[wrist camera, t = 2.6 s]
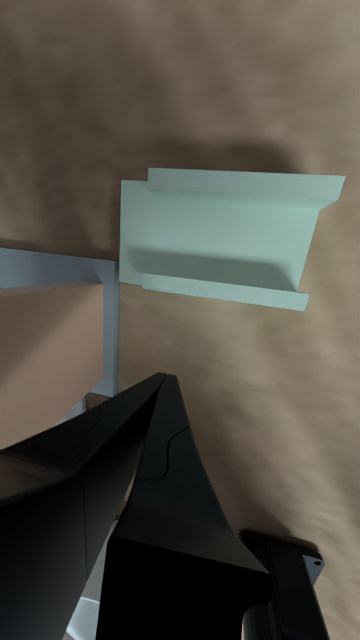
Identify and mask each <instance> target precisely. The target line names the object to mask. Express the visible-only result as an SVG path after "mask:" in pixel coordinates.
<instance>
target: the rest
mask: <svg viewBox="0 0 360 640" xmlns="http://www.w3.org/2000/svg"><path fill="white" fill-rule="evenodd" d="M344 179H345V176H331V175H308V174H285V173H262V172H239V171H215V170H192V169H169V168H148V181H135V180H121V217H120V262H119V282H121V283H129V284H136V285H142V289H148V290H155V291H162V292H170V293H177V294H184V295H191V296H199V297H206V298H213V299H220V300H228V301H235V302H242V303H249V304H257V305H264V306H271V307H278V308H286V309H293V310H300V311H305V308H306V305H307V301H308V298H309V295H310V294H307V293H303V292H299V291H297V288H298V285H299V281H300V278H301V274H302V271H303V267H304V264H305V260H306V257H307V253H308V250H309V246H310V243H311V239H312V235H313V232H314V228H315V225H316V221H317V218H318V214H319V211H320V210H321V209H323V208H324V207H326V206H328V205H330V204H331V203H333V202H335V201H337V200H338V199H339V196H340V193H341V189H342V186H343V183H344Z"/></svg>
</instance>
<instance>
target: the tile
mask: <svg viewBox="0 0 360 640" xmlns="http://www.w3.org/2000/svg"><path fill="white" fill-rule="evenodd" d="M102 379H103V284H100V283H92V282H85V281H81V282H69V283H57V284H45V285H33V286H21V287H9V288H0V450H1V449H3V448H6V447H8V446H11V445H13V444H15V443H18V442H20V441H22V440H24V439H27V438H29V437H31V436H34V435H36V434H38V433H40V432H43V431H45V430H47V429H49V428H52V427H53V426H54V425H56V424H57V423H58V422H59V421H60V420H61V419H62V418H63V417H64V416H65V415H66V414H67V413H68V412H69V411H70V410H71V409H72V408H73V407H74V406H75V405H76V404H77V403H78V402H79V401H80V400H81V399H82V398H83V397H84V396H85V395H86V394H87V393H89V392H90V391H91V390H92V389H93V388H94V387H95V386H96V385H97V384H98V383H99V382H100V381H101V380H102Z"/></svg>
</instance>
